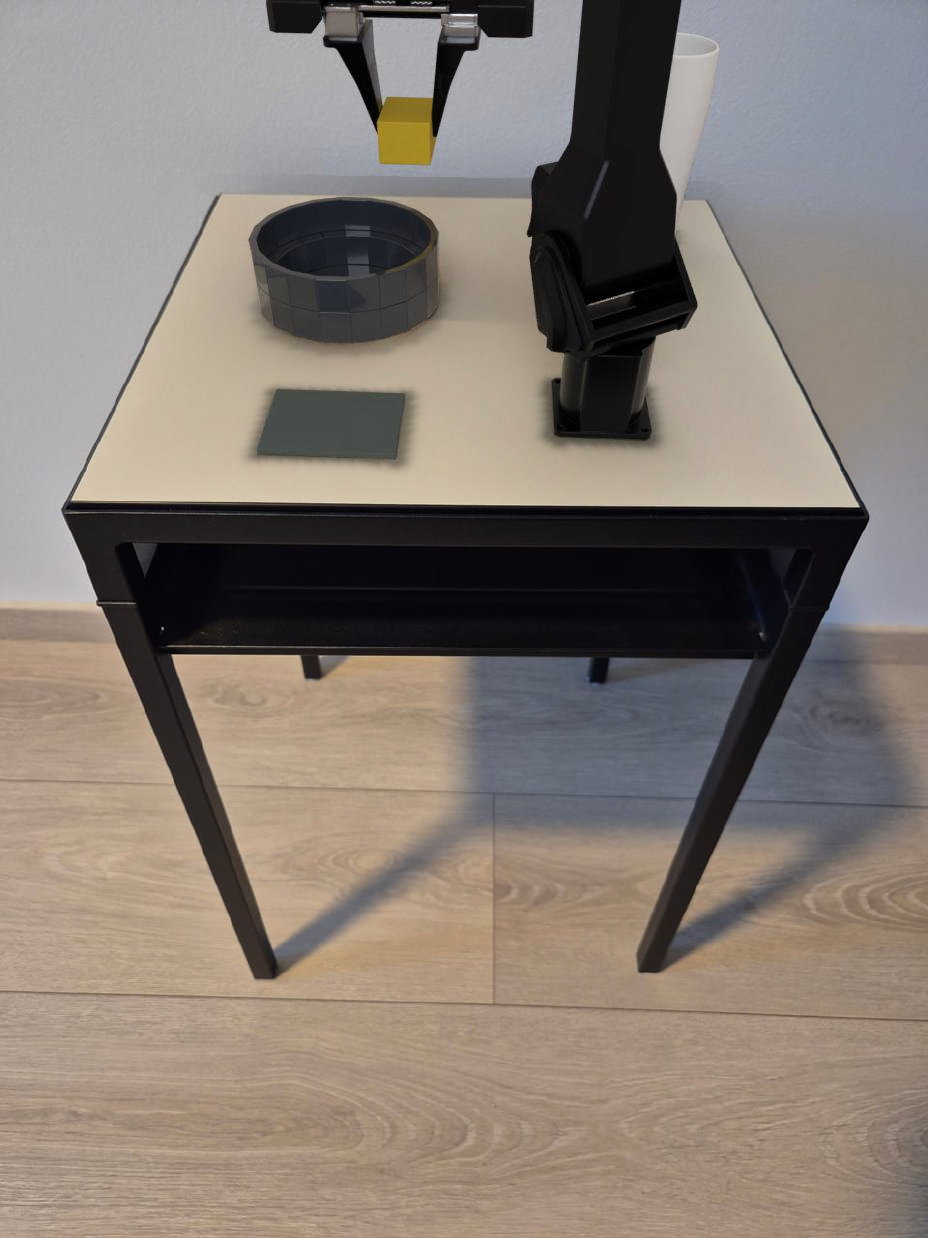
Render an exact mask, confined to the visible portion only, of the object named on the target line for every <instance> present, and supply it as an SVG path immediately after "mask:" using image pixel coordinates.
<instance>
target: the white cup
mask: <svg viewBox="0 0 928 1238" xmlns="http://www.w3.org/2000/svg"><path fill="white" fill-rule="evenodd" d="M720 51H721V48H720V45H719V43H718V42H716V41H715V40H713V39H711V38H708V37H706V36H703V35H699V34H694V33H688V32H678V31H677V34H676V41H675V47H674V54H673V60H672V66H671V73H670V79H669V86H668V92H667V98H666V105H665V111H664V118H663V124H662V130H661V138H660V150H661V153H662V155H663V158H664V160H665V163H666V166H667V168H668V171H669V174H670V176H671V179H672V181H673V184H674V187H675V189H676V192H677V209H676V224H675V235H676V234H677V228H678V224H679V221H680V220H679V219H680V215H681V210H682V208H683V204H684V199H685V196H686V192H687V188H688V185H689V181H690V178H691V174H692V171H693V167H694V164H695V161H696V156H697V154H698V153H697V152H698V149H699V145H700V141H701V138H702V135H703V131H704V127H705V124H706V120H707V118H708V117H707V116H708V113H709V109H710V105H711V101H712V97H713V92H714V87H715V81H716V75H717V70H718V63H719V57H720Z"/></svg>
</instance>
